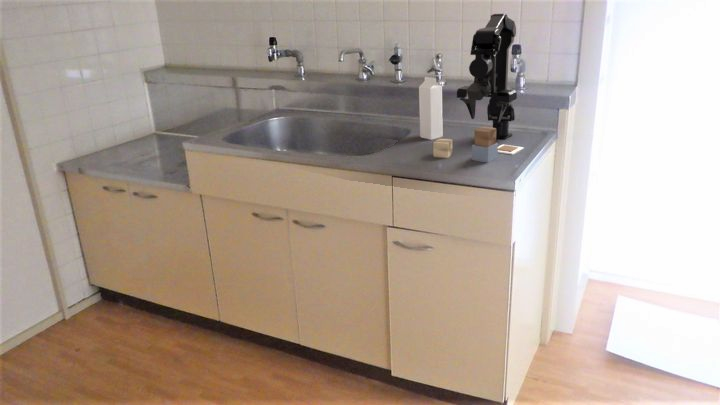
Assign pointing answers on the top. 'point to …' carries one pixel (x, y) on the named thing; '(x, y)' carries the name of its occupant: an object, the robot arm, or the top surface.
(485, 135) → the walnut block
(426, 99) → the milk
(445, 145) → the maple block
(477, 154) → the base block
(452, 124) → the top surface
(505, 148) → the swatch
